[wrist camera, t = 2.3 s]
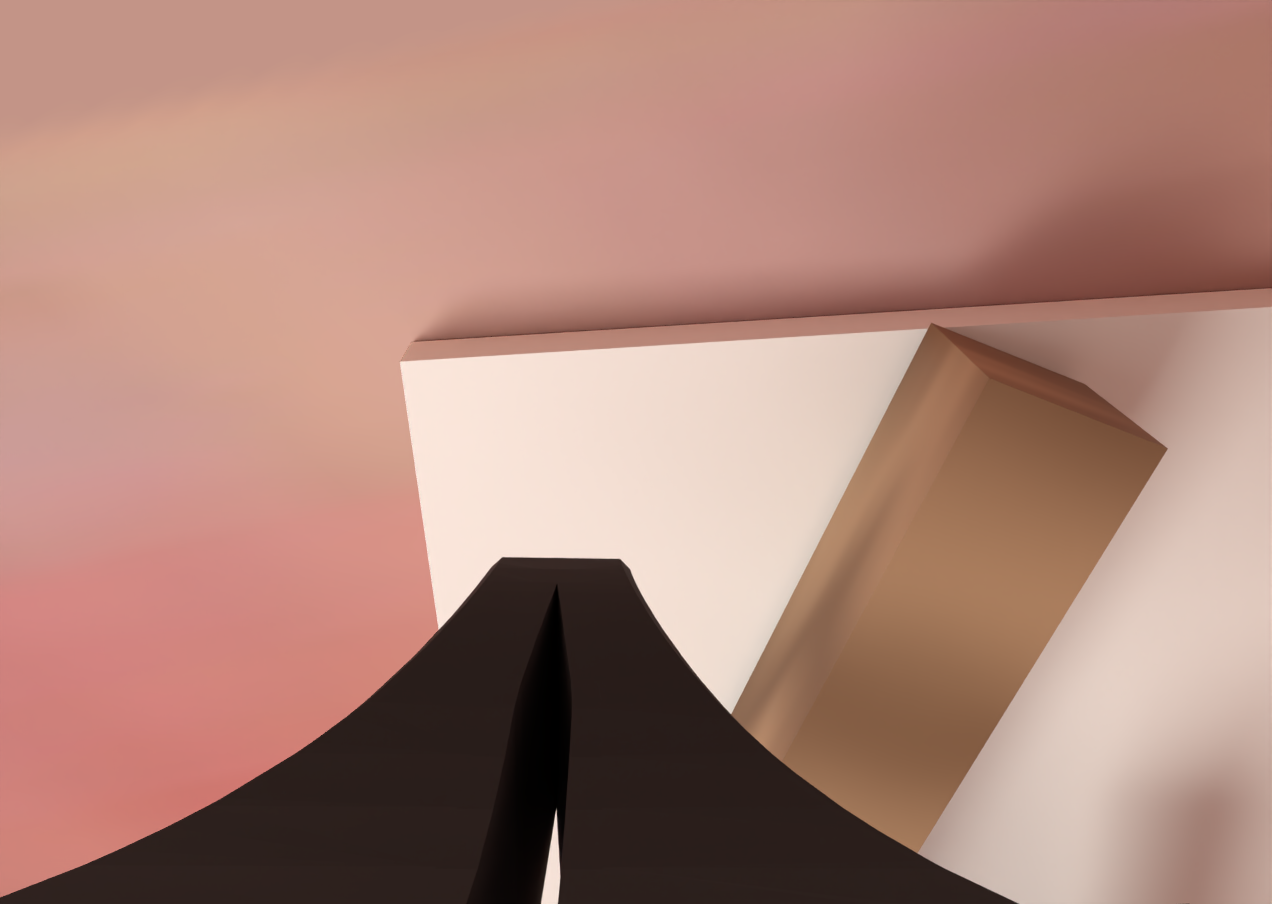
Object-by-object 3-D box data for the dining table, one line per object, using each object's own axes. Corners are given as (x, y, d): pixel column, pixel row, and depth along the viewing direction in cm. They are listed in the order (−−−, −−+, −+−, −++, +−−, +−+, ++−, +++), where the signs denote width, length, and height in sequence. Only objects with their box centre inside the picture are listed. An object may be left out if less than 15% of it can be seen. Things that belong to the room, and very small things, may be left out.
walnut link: (761, 986, 24) (781, 1115, 21) (591, 939, 23) (589, 1066, 20) (1109, 393, 19) (1196, 460, 16) (904, 311, 18) (959, 366, 15)
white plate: (1459, 961, 26) (1497, 1003, 25) (506, 1023, 26) (502, 1068, 25) (1672, 263, 20) (1734, 278, 19) (411, 341, 20) (400, 362, 19)
